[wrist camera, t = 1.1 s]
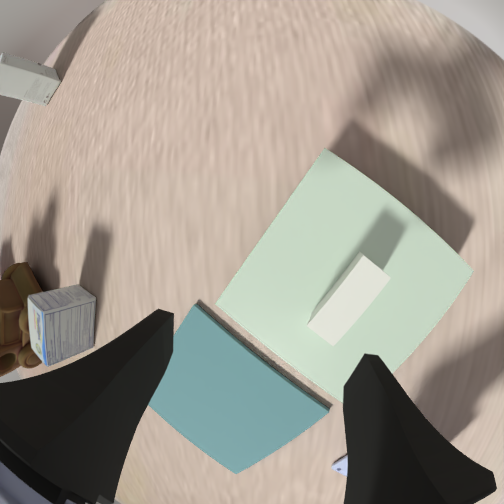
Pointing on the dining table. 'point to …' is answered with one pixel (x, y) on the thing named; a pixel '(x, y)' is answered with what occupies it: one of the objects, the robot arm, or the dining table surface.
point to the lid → (343, 277)
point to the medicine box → (61, 323)
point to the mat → (229, 396)
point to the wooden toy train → (16, 318)
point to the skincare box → (27, 79)
